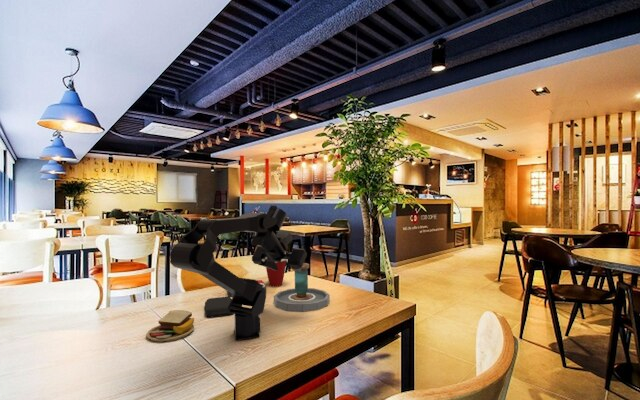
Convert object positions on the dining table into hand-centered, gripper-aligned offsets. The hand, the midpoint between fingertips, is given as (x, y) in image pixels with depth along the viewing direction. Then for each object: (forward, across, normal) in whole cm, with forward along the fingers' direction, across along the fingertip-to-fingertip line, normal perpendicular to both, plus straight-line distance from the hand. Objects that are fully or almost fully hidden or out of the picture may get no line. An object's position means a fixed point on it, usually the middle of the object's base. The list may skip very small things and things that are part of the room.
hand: (288, 270), depth 111 cm
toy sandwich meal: (-12, +21, +32) cm, 40 cm away
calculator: (+18, +28, +2) cm, 33 cm away
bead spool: (+15, 0, +2) cm, 15 cm away
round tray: (+16, 0, +3) cm, 16 cm away
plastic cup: (+28, +23, -8) cm, 37 cm away
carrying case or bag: (+3, +22, +17) cm, 28 cm away
